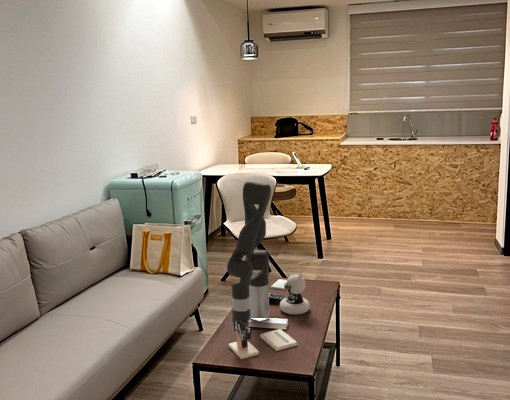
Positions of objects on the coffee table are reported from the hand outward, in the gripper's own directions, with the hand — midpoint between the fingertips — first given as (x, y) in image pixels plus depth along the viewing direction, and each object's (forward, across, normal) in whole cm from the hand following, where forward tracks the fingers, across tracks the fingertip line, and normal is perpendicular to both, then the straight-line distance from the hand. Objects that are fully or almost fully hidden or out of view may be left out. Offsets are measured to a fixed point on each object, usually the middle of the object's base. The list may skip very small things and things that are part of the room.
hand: (242, 344), depth 221 cm
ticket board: (+3, 0, +17) cm, 17 cm away
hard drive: (+4, -55, +51) cm, 75 cm away
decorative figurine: (+3, -24, +40) cm, 47 cm away
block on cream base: (+3, 0, 0) cm, 3 cm away
